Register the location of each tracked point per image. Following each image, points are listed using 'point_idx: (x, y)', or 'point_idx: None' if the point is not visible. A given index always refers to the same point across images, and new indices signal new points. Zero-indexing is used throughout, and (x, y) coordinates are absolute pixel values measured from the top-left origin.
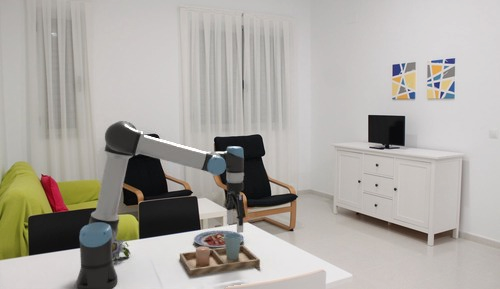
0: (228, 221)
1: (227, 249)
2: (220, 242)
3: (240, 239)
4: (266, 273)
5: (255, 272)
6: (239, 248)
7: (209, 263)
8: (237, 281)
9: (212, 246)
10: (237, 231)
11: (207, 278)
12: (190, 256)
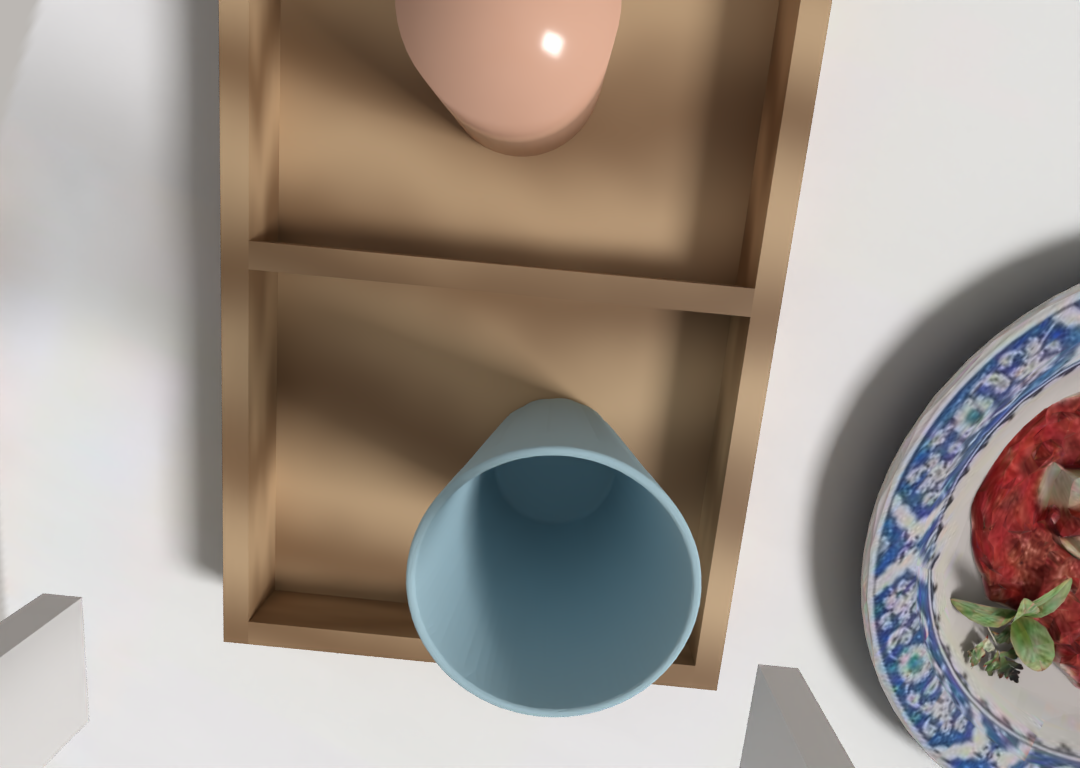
0: (772, 739)
1: (522, 418)
2: (1057, 531)
3: (467, 648)
4: (115, 584)
5: (169, 509)
6: (494, 568)
7: (480, 142)
8: (32, 267)
9: (954, 379)
10: (18, 613)
11: (197, 7)
12: None
